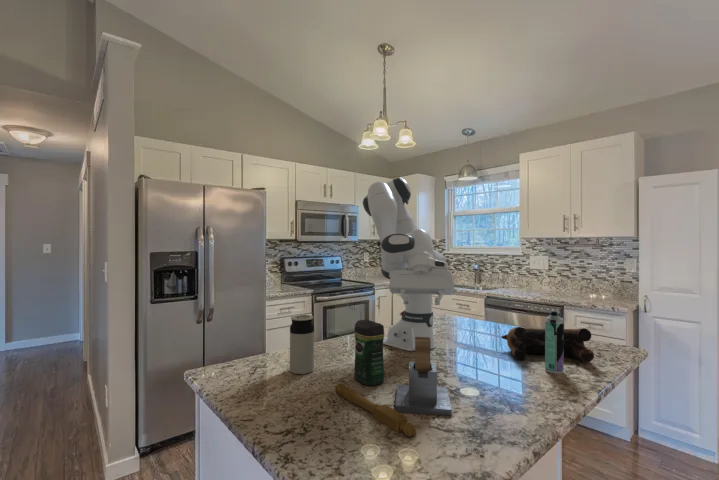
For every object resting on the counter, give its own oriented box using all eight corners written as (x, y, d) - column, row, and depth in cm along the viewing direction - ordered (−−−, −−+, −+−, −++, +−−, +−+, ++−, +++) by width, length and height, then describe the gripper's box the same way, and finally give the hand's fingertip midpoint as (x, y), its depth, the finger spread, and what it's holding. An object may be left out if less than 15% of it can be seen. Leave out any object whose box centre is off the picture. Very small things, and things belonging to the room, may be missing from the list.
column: (414, 391, 101) (414, 336, 101) (429, 392, 101) (429, 337, 101) (414, 397, 97) (415, 340, 97) (430, 398, 97) (430, 341, 96)
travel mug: (318, 368, 124) (318, 315, 124) (305, 376, 117) (305, 320, 117) (298, 365, 127) (298, 313, 127) (284, 372, 120) (285, 317, 120)
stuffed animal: (599, 324, 128) (572, 318, 153) (507, 327, 134) (495, 321, 158) (605, 362, 127) (576, 349, 151) (511, 364, 132) (498, 351, 157)
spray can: (565, 374, 119) (566, 313, 119) (547, 373, 120) (548, 312, 120) (560, 368, 124) (560, 310, 124) (542, 367, 126) (543, 309, 126)
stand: (397, 389, 107) (397, 357, 107) (446, 392, 105) (446, 359, 105) (395, 411, 93) (395, 374, 93) (451, 415, 91) (451, 377, 91)
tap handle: (343, 381, 106) (418, 423, 82) (343, 392, 106) (418, 436, 82) (334, 384, 104) (408, 427, 80) (334, 394, 104) (408, 441, 80)
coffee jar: (388, 383, 112) (388, 322, 112) (366, 388, 107) (367, 325, 107) (371, 373, 120) (371, 316, 120) (350, 377, 116) (350, 319, 116)
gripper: (389, 262, 120) (387, 296, 110) (452, 263, 117) (456, 298, 107) (389, 274, 124) (387, 308, 115) (451, 275, 121) (454, 310, 112)
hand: (421, 303), depth 111 cm, fingers open, 8 cm apart
